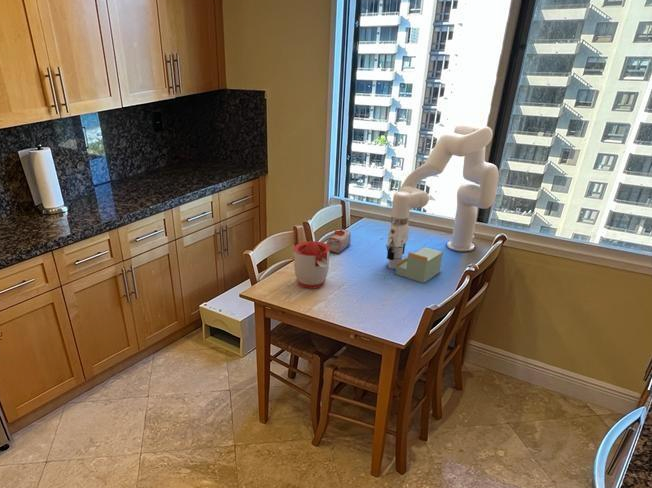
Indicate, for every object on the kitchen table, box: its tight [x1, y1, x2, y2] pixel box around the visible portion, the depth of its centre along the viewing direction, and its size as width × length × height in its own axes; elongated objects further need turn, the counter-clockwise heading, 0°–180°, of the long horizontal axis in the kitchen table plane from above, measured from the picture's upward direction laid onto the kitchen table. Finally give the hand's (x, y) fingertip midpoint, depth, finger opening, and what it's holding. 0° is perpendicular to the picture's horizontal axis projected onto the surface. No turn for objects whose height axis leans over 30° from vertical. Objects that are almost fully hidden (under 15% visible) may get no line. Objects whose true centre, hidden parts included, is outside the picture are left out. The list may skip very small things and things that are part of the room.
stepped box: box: [395, 246, 444, 284], centre depth 229 cm, size 14×14×12 cm
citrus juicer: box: [293, 240, 330, 289], centre depth 223 cm, size 16×17×20 cm
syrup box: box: [388, 239, 404, 270], centre depth 236 cm, size 6×6×14 cm
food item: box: [326, 229, 352, 255], centre depth 258 cm, size 14×8×10 cm, turn 144°
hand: (395, 256), depth 237 cm, fingers open, 8 cm apart
